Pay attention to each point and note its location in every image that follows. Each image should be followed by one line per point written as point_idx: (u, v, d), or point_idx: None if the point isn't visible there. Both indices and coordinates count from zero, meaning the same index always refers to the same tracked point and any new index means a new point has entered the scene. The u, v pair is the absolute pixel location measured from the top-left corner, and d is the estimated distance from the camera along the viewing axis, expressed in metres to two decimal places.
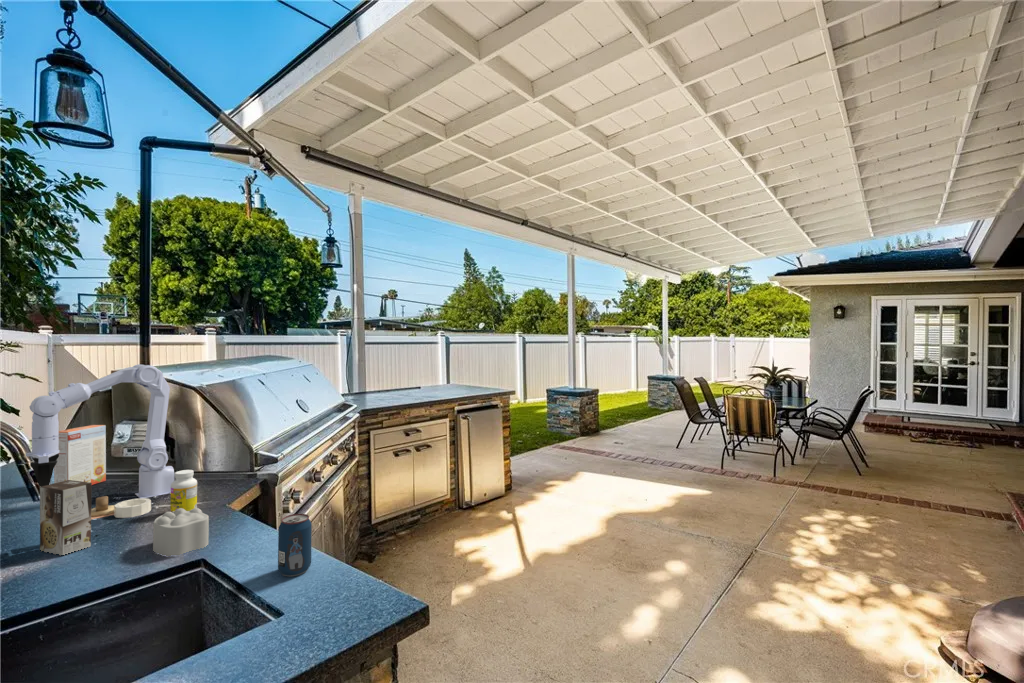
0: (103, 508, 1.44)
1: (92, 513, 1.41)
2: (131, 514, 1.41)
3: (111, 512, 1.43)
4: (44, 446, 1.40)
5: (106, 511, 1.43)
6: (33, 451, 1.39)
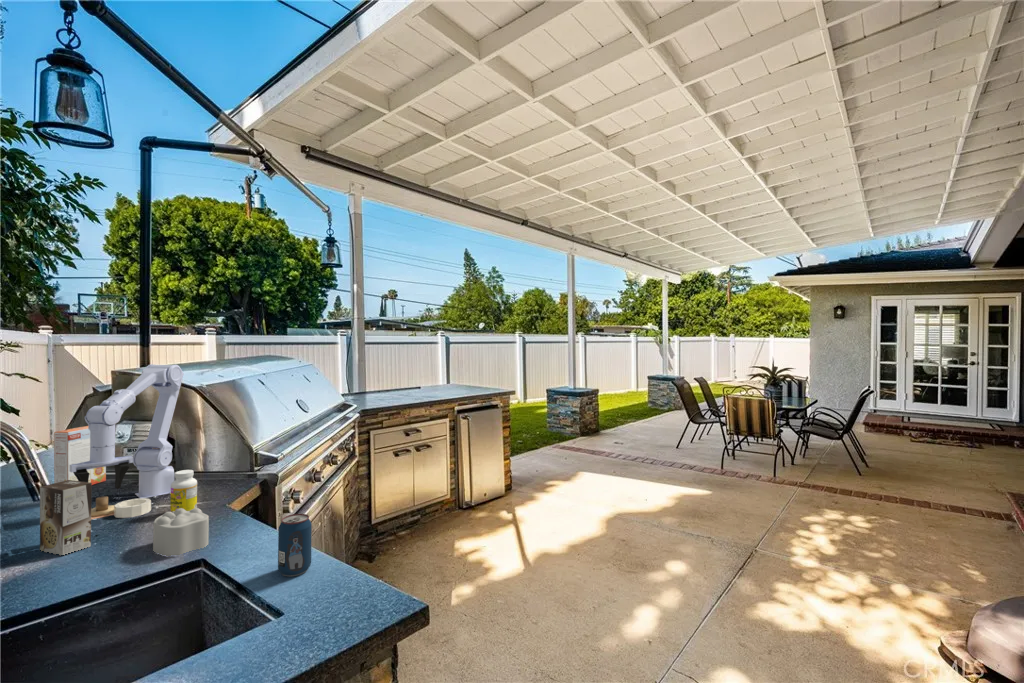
0: (103, 508, 1.44)
1: (92, 513, 1.41)
2: (131, 514, 1.41)
3: (111, 512, 1.43)
4: (90, 455, 1.42)
5: (106, 511, 1.43)
6: None
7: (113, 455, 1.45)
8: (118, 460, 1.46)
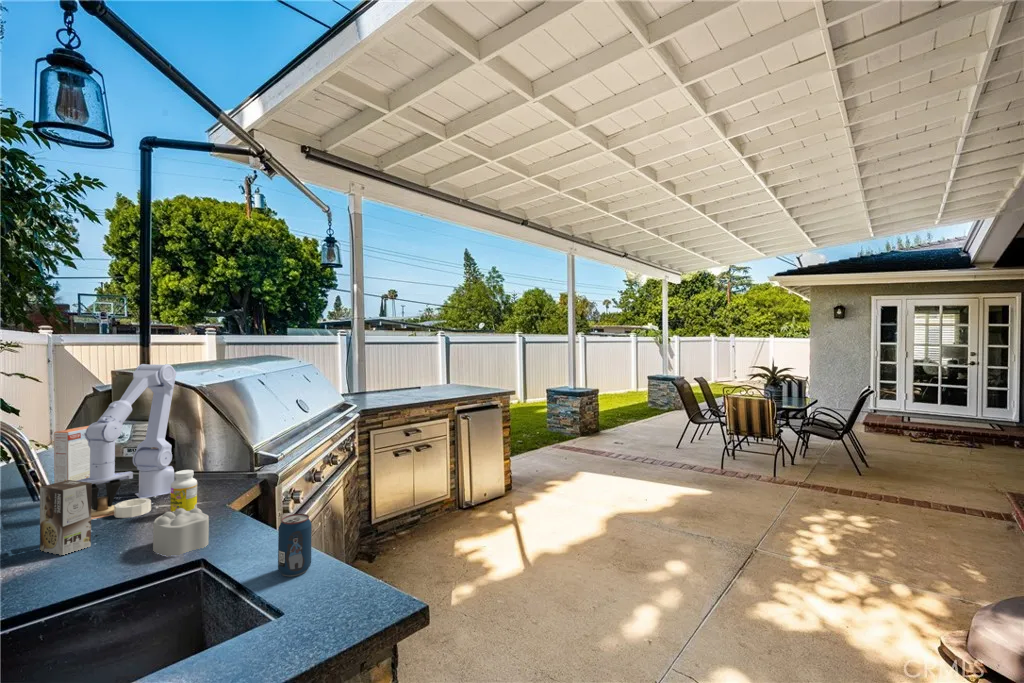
0: (103, 508, 1.44)
1: (92, 513, 1.41)
2: (131, 514, 1.41)
3: (111, 512, 1.43)
4: (90, 472, 1.42)
5: (106, 511, 1.43)
6: None
7: (113, 471, 1.45)
8: (118, 476, 1.46)
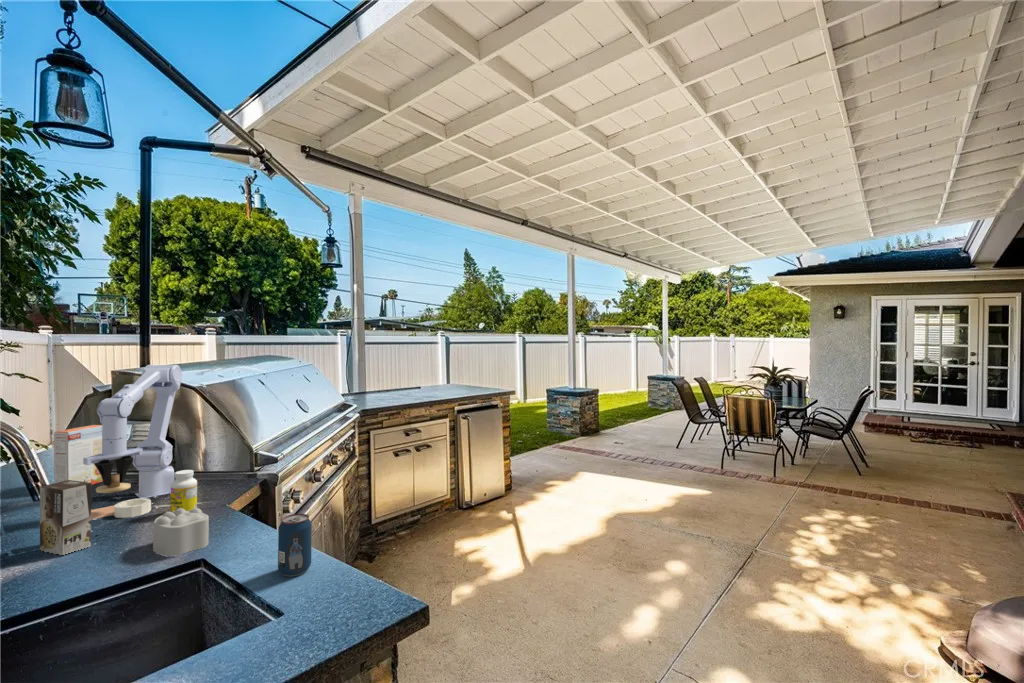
0: (116, 484, 1.44)
1: (106, 489, 1.41)
2: (131, 514, 1.41)
3: (125, 488, 1.44)
4: (103, 448, 1.42)
5: (120, 487, 1.44)
6: None
7: (126, 447, 1.46)
8: (130, 452, 1.47)
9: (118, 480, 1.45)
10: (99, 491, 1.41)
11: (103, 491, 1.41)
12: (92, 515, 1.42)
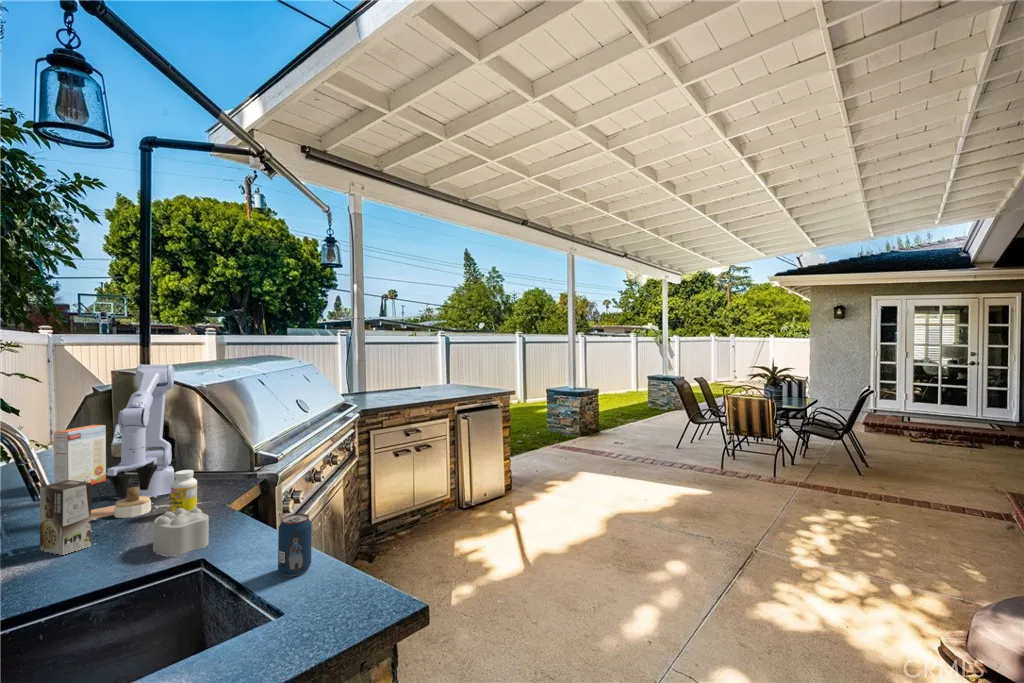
0: (137, 498, 1.45)
1: (130, 503, 1.42)
2: (131, 514, 1.41)
3: (147, 500, 1.45)
4: (124, 458, 1.42)
5: (142, 500, 1.45)
6: None
7: None
8: (148, 461, 1.48)
9: (138, 493, 1.45)
10: (122, 505, 1.41)
11: (128, 505, 1.41)
12: (92, 515, 1.42)
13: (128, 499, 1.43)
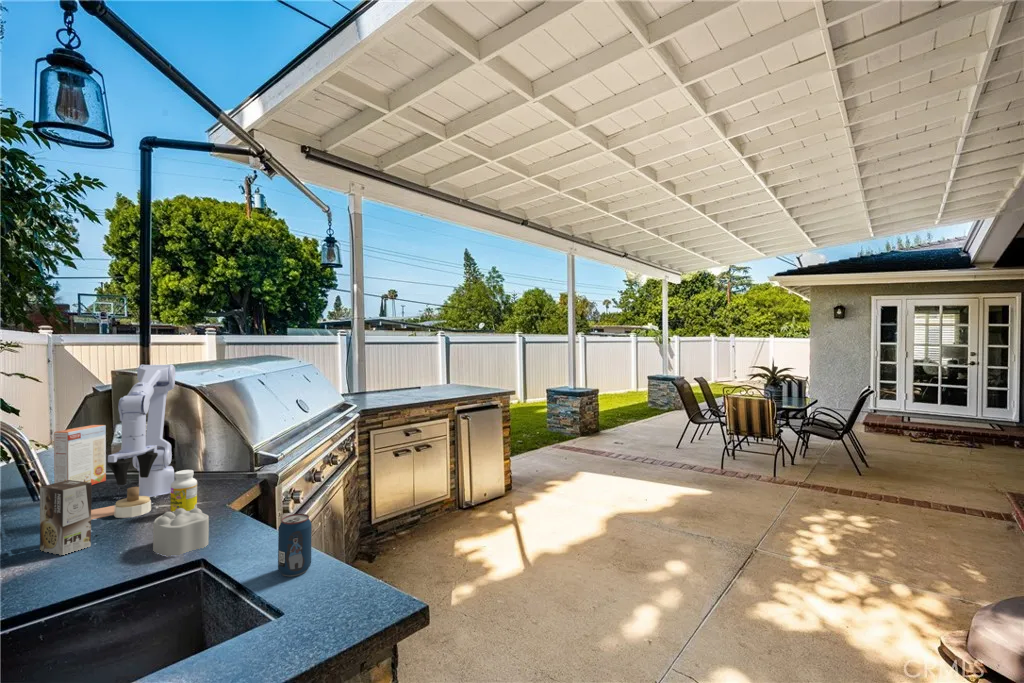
0: (137, 498, 1.45)
1: (130, 503, 1.42)
2: (131, 514, 1.41)
3: (147, 500, 1.45)
4: (125, 445, 1.42)
5: (142, 500, 1.45)
6: None
7: None
8: (149, 449, 1.48)
9: (138, 493, 1.45)
10: (122, 505, 1.41)
11: (128, 505, 1.41)
12: (92, 515, 1.42)
13: (128, 499, 1.43)
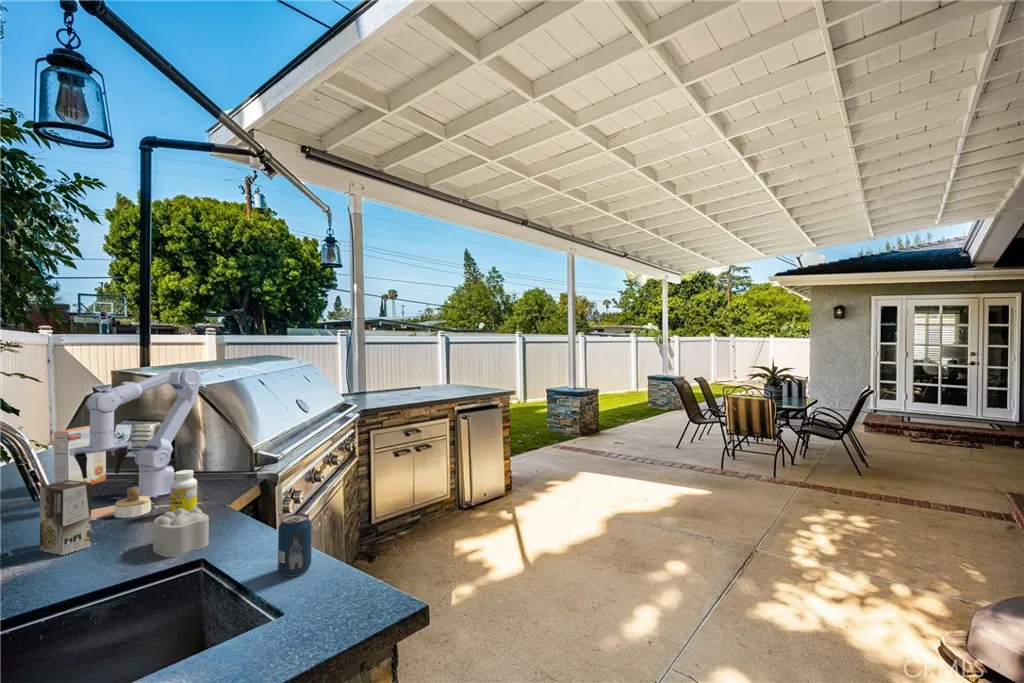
0: (137, 498, 1.45)
1: (130, 503, 1.42)
2: (131, 514, 1.41)
3: (147, 500, 1.45)
4: None
5: (142, 500, 1.45)
6: None
7: (111, 441, 1.50)
8: (116, 446, 1.51)
9: (138, 493, 1.45)
10: (122, 505, 1.41)
11: (128, 505, 1.41)
12: (92, 515, 1.42)
13: (128, 499, 1.43)
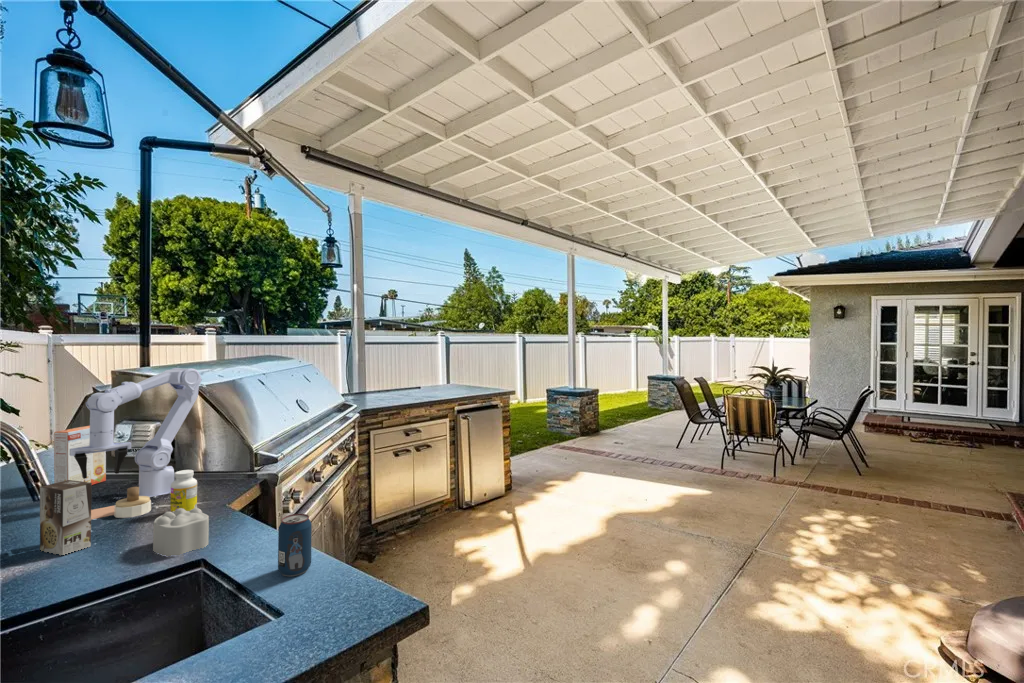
0: (137, 498, 1.45)
1: (130, 503, 1.42)
2: (131, 514, 1.41)
3: (147, 500, 1.45)
4: None
5: (142, 500, 1.45)
6: None
7: (111, 441, 1.50)
8: (116, 446, 1.51)
9: (138, 493, 1.45)
10: (122, 505, 1.41)
11: (128, 505, 1.41)
12: (92, 515, 1.42)
13: (128, 499, 1.43)
